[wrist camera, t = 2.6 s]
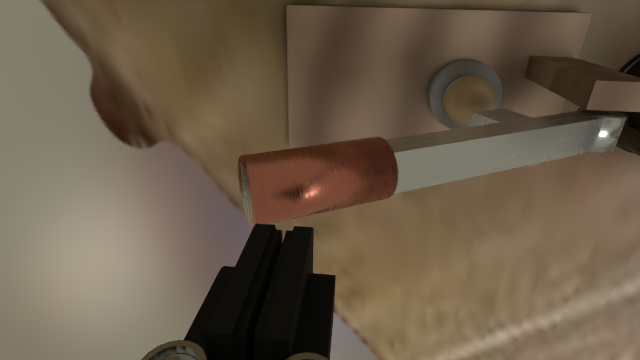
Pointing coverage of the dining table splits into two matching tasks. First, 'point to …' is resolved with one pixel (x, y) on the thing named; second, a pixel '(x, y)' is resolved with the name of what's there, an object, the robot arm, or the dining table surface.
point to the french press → (630, 135)
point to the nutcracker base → (436, 70)
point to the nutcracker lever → (413, 161)
